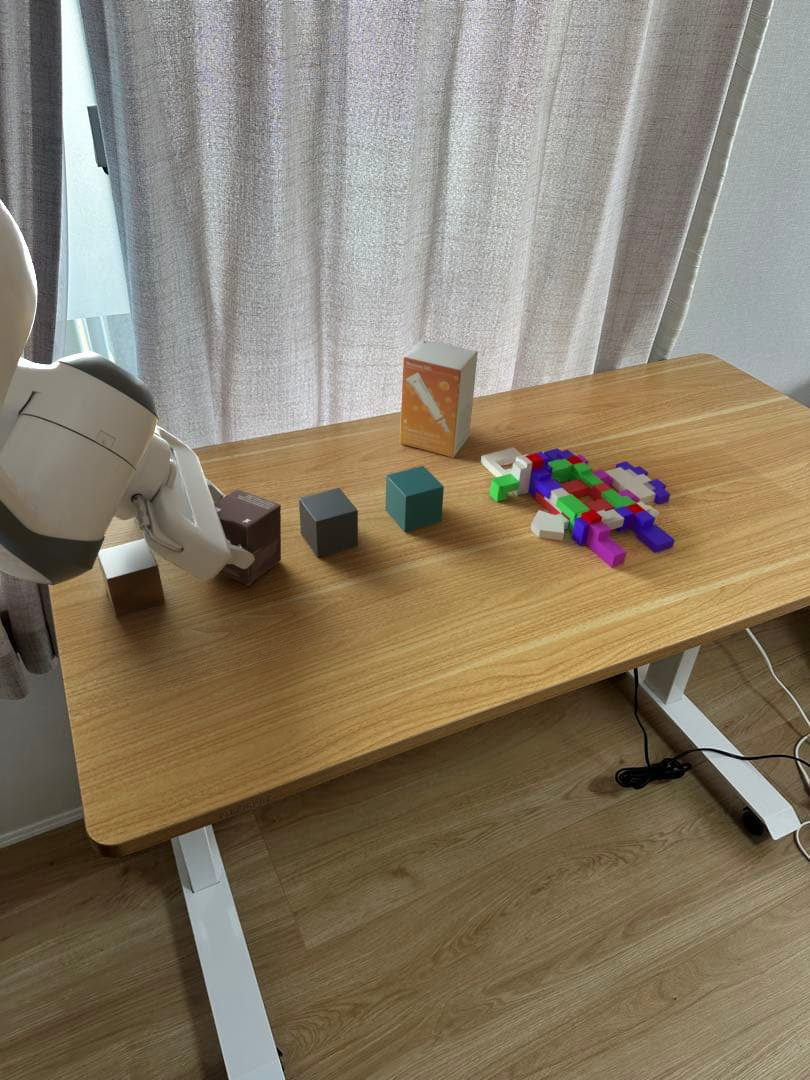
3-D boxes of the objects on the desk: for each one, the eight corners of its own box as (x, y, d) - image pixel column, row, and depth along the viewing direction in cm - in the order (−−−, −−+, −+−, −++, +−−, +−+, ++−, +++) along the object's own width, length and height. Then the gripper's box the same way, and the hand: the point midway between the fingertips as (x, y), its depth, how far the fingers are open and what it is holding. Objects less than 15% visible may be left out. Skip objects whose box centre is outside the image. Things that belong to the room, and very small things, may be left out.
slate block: (317, 557, 90) (316, 521, 87) (300, 533, 93) (298, 497, 90) (358, 545, 92) (358, 510, 89) (340, 522, 95) (339, 487, 92)
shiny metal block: (116, 617, 81) (106, 579, 78) (105, 588, 85) (95, 550, 82) (165, 602, 83) (158, 565, 80) (153, 574, 87) (145, 537, 84)
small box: (398, 445, 110) (401, 356, 102) (417, 424, 114) (421, 337, 106) (454, 459, 107) (461, 369, 99) (470, 437, 112) (479, 349, 104)
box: (282, 562, 89) (283, 504, 85) (248, 587, 84) (247, 528, 81) (238, 544, 91) (237, 487, 87) (202, 568, 87) (199, 509, 83)
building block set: (716, 531, 96) (727, 500, 93) (579, 580, 88) (586, 547, 85) (586, 434, 113) (591, 406, 111) (461, 468, 105) (464, 438, 103)
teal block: (404, 532, 94) (406, 496, 91) (385, 509, 98) (386, 475, 94) (441, 521, 96) (444, 486, 93) (421, 499, 99) (423, 465, 96)
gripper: (163, 507, 68) (283, 572, 77) (135, 400, 83) (238, 464, 92) (118, 559, 70) (241, 616, 79) (99, 444, 85) (204, 503, 94)
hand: (239, 533), depth 86 cm, fingers closed on box, 8 cm apart
